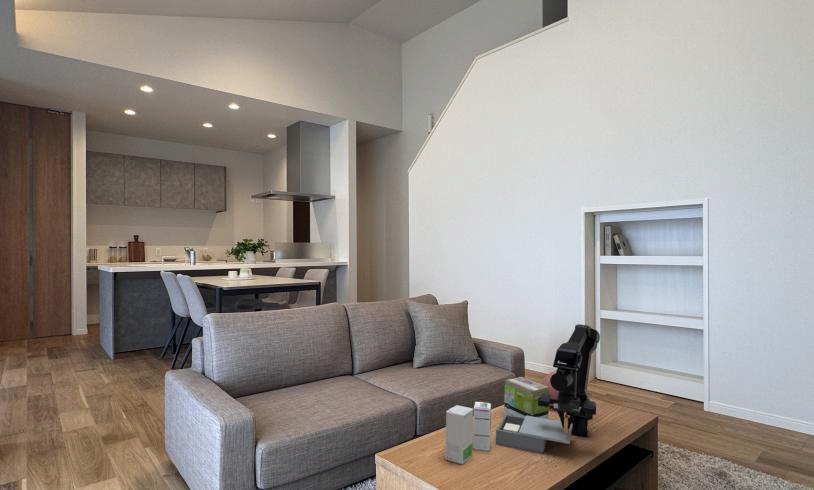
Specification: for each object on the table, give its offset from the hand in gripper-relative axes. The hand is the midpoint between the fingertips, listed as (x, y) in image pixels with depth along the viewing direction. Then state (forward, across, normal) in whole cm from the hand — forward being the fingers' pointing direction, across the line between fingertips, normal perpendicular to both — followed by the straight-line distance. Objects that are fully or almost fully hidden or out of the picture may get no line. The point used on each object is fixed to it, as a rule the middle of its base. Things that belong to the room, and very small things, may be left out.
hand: (566, 428), depth 157 cm
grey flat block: (+7, -14, 0) cm, 16 cm away
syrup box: (+7, -26, -12) cm, 30 cm away
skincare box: (+7, -31, -23) cm, 40 cm away
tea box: (+7, -16, +20) cm, 27 cm away
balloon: (+7, -3, +39) cm, 40 cm away
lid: (+2, -7, 0) cm, 7 cm away
